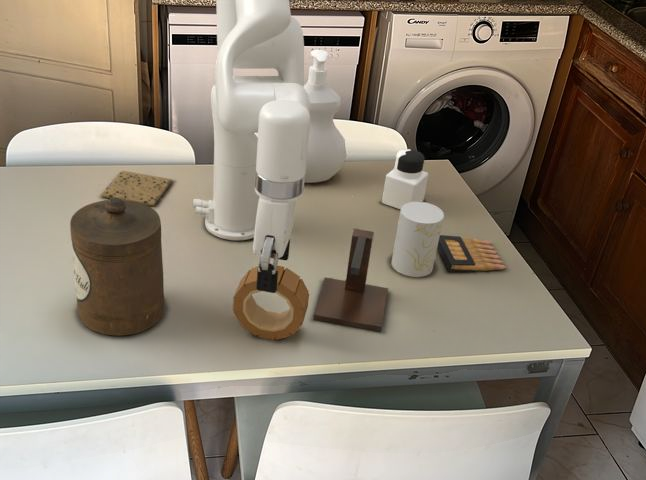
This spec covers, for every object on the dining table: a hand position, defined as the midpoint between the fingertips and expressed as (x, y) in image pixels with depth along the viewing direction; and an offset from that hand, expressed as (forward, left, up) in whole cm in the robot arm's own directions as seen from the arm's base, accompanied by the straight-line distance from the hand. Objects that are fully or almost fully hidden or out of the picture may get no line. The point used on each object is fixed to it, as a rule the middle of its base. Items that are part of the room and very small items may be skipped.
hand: (272, 274), depth 134 cm
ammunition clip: (+28, +32, -10) cm, 44 cm away
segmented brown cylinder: (0, 0, -6) cm, 6 cm away
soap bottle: (-3, +58, -12) cm, 59 cm away
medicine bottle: (+19, +53, -12) cm, 57 cm away
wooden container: (-26, -2, -12) cm, 29 cm away
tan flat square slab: (-38, +40, -12) cm, 56 cm away
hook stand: (+13, +11, -12) cm, 21 cm away
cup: (+23, +28, -12) cm, 38 cm away
